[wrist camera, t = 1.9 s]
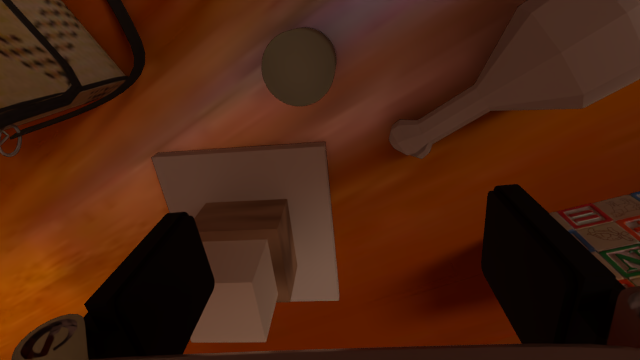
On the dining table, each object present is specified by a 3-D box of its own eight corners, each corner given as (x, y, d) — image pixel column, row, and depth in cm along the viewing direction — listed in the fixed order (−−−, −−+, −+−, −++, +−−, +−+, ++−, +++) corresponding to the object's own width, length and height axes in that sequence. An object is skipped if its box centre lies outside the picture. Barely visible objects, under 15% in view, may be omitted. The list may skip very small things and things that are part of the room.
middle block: (197, 241, 28) (170, 284, 24) (267, 239, 28) (251, 282, 23) (214, 295, 31) (191, 342, 26) (277, 294, 30) (266, 342, 26)
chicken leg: (362, 90, 29) (378, 162, 24) (604, -92, 20) (716, -40, 15) (412, 138, 34) (434, 207, 29) (624, 11, 25) (713, 77, 20)
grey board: (157, 152, 32) (151, 157, 31) (325, 141, 30) (324, 146, 29) (203, 294, 40) (199, 302, 39) (339, 292, 38) (338, 300, 37)
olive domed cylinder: (270, 30, 27) (255, 33, 22) (334, 24, 26) (331, 25, 22) (280, 94, 29) (267, 108, 24) (338, 89, 28) (337, 103, 24)
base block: (206, 202, 33) (183, 232, 28) (287, 198, 32) (277, 228, 27) (223, 267, 36) (206, 303, 31) (297, 265, 35) (290, 302, 31)
